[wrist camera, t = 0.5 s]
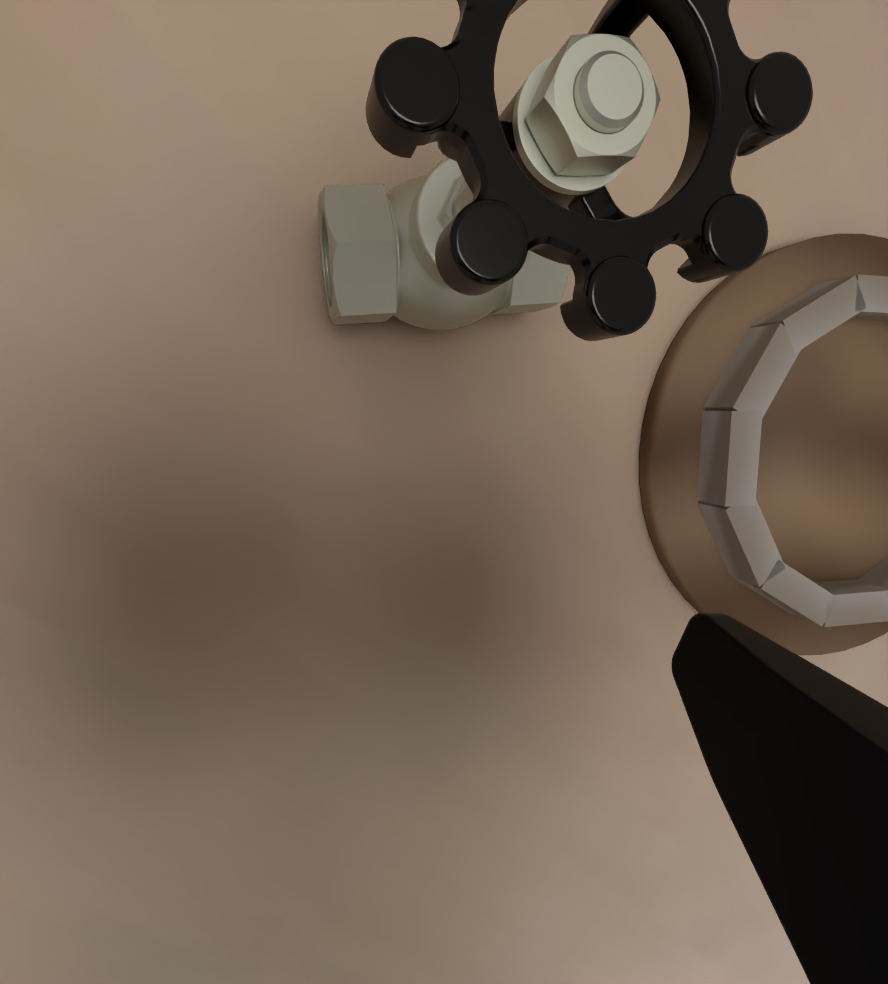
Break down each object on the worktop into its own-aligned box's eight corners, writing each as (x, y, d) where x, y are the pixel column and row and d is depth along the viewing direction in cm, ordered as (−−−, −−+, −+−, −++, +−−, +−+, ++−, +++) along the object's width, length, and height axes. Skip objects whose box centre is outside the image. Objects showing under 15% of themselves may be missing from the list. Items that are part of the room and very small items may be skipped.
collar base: (951, 629, 28) (1014, 651, 25) (628, 662, 24) (666, 692, 21) (998, 255, 25) (1072, 239, 23) (651, 224, 22) (696, 201, 19)
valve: (308, 161, 19) (343, -230, 7) (514, 159, 20) (817, -165, 9) (334, 382, 20) (402, 351, 8) (528, 366, 21) (814, 319, 10)
